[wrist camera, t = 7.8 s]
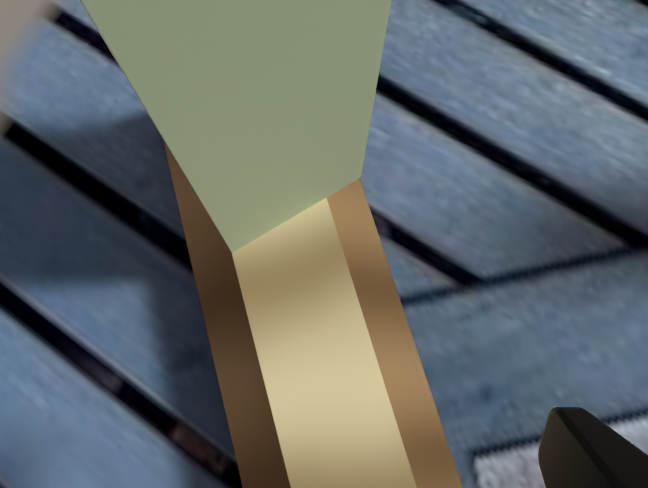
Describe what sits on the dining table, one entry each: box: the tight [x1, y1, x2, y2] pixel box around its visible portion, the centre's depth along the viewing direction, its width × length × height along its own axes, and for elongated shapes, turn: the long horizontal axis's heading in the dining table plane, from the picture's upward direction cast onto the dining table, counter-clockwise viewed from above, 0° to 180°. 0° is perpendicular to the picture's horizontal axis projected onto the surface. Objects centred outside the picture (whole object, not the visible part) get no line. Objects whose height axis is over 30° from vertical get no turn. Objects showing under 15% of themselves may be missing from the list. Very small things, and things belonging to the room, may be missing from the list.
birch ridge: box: [163, 140, 463, 488], centre depth 19 cm, size 18×7×4 cm, turn 16°
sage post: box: [80, 0, 391, 253], centre depth 13 cm, size 5×5×12 cm
